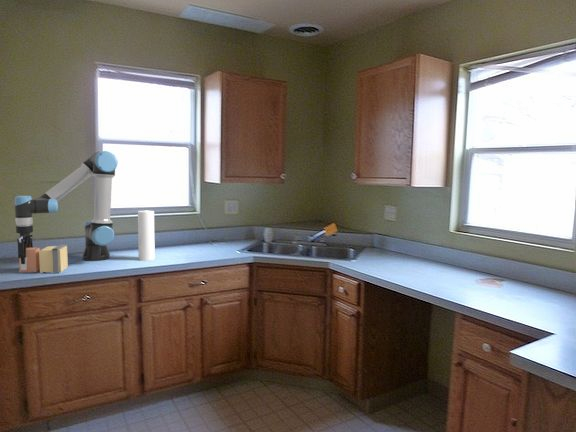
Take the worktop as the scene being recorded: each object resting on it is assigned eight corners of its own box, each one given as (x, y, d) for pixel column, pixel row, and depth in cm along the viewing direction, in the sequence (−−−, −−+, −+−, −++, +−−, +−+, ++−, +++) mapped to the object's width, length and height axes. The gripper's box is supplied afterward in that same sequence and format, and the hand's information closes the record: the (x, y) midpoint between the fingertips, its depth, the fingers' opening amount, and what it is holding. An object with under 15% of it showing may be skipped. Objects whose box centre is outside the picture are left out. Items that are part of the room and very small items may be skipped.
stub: (40, 269, 224) (39, 247, 222) (36, 271, 218) (35, 249, 216) (24, 269, 222) (23, 247, 220) (19, 272, 216) (18, 249, 215)
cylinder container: (157, 258, 256) (157, 210, 253) (148, 261, 248) (147, 211, 244) (145, 256, 259) (144, 209, 256) (135, 259, 251) (134, 210, 247)
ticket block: (68, 266, 231) (67, 243, 229) (60, 273, 216) (59, 248, 215) (49, 267, 229) (48, 243, 227) (38, 273, 214) (37, 249, 212)
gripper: (23, 222, 225) (25, 264, 228) (8, 227, 207) (11, 273, 209) (38, 222, 227) (40, 264, 229) (25, 227, 208) (27, 272, 211)
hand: (26, 268), depth 219 cm, fingers closed on stub, 6 cm apart
